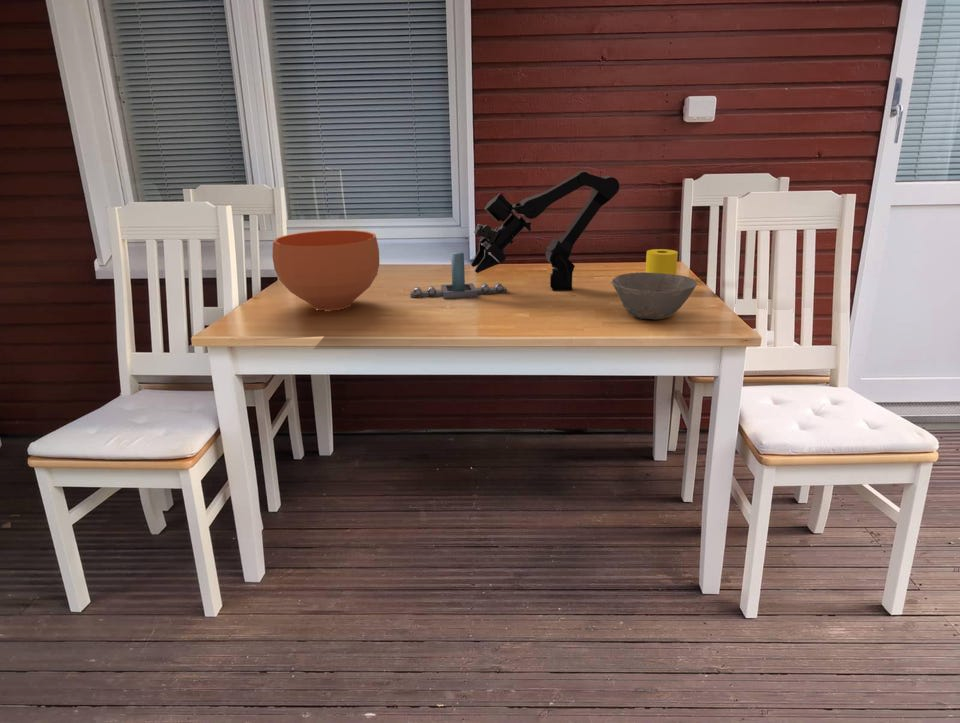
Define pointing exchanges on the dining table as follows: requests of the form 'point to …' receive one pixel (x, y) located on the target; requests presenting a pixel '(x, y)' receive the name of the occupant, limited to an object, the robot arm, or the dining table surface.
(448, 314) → the dining table surface
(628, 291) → the ceramic bowl
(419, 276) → the dining table surface
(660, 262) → the tape roll
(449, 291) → the grey square frame handle
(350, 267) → the flowerpot
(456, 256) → the pin
